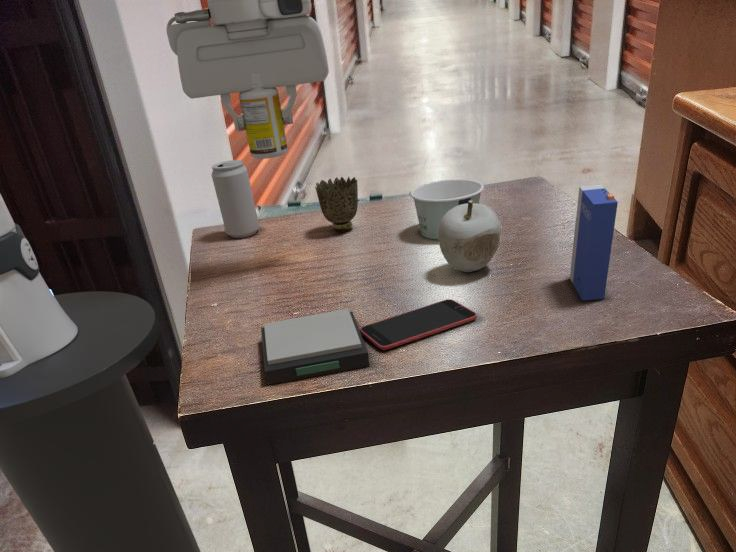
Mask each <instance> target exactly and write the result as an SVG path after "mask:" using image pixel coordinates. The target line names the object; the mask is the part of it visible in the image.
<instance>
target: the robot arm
mask: <svg viewBox="0 0 736 552" xmlns="http://www.w3.org/2000/svg"><path fill="white" fill-rule="evenodd" d="M206 2H207V6H208V8H203V9H196V10H192V11H186V12H185V11H180V12H175V13H174V16H173V17H171V18H170V19H169V20H168V22H167V24H166V34H167V35H166V36H167V39H168V44H169V47H170V49H171V51H172V52H173V53H174V54H175V55H176V57H177V64H178V66H177V67H178V72H179V73H178V74H179V78H180V83H181V84H180V85H181V87H182V92H183V93H184V94H185V95H186V96H187V97H188V98H189V99H191V100H193V99H199V98H207V97H215V96H220V102H221V105H222V107H223V108H224V109H225V110H226V112H227V113H228V115H229V116H230V117H231V118H232V120H233V125H234V131H235V132H243V131H246V128H245V124H244V118H243V114H238V113H236V110H234V109H233V107H232V105H231V104H232V102H233V101H232V100H233V99H232V94H237V93H238V94H239V93H240V92H246V91H251V90H254V89H255V88H253V87H251V86H252V85H253V84H251V83H252V79H251V74H256V73H258V74H259V75H260V81H261V83H260V84H262V85H263V86H261V87H260V88H262V89H268V88H275V87H276V88H283V87H284V91H285V94H286V96H288V99H287V103H286V107H285V108H281V114H282V118H283V125H284V126H285V125H293V124H294V119H293V111H292V110H293V108H294V105H295V101H296V98H297V95H298V93H297V86H298V85H305V84H313V83H319V82H324V81H326V79H327V77H328V75H329V73H330V69H329V62H328V56H327V52H326V51H327V50H326V45H325V42H324V38H323V35H322V31H321V28H320V25H319V24H318V23H317V21H316V20H315V19H314V18H313V17H312V16H309V14H311V12H312V0H206ZM174 22H175V23H174ZM54 295H55V294H54V293H53V291H52V289H50V288H49V286H48V285H47V283H46V281H45V279H44V278H43V276H42V275H41V272H40V267H39V264H38V261H37V257H36V255H35V254H34V250H33V248H32V246H31V244H30V242H29V240H28V239H27V238H26V236H25V234H24V232H23V230H22V228H21V226H20V225H19V224H18V223H16V222H15V221H14V219H13V217H12V215H11V213H10V210H9V208H8V207H7V205H6V201H5V200H4V198H3V196H2V194H1V193H0V378H5V377H8V376H11V375H13V374H15V373H17V372H18V371H20V370H21V369H23V368H25V367H26V366H28V365H30V364H32V363H34V362H36V361H39V360H41V359H43V358H45V357H48V356H50V355H52V354H54V353H55V352H57V351H59V350H61V349H62V348H64V347H65V346H66V345H68V344H69V343H70V342H71V341H72V340H73V339H74V338H75V337H76V335H77V333H78V327H77V326H76V325H75V324H74V322H73V321H72V320H71V319H70V318H69V317H68V315H67V314H66V313H65V311H64V310H63V309H62V307H61V306H60V305H59V303H58V302H57V300H56V299H55V297H54Z"/></svg>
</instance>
